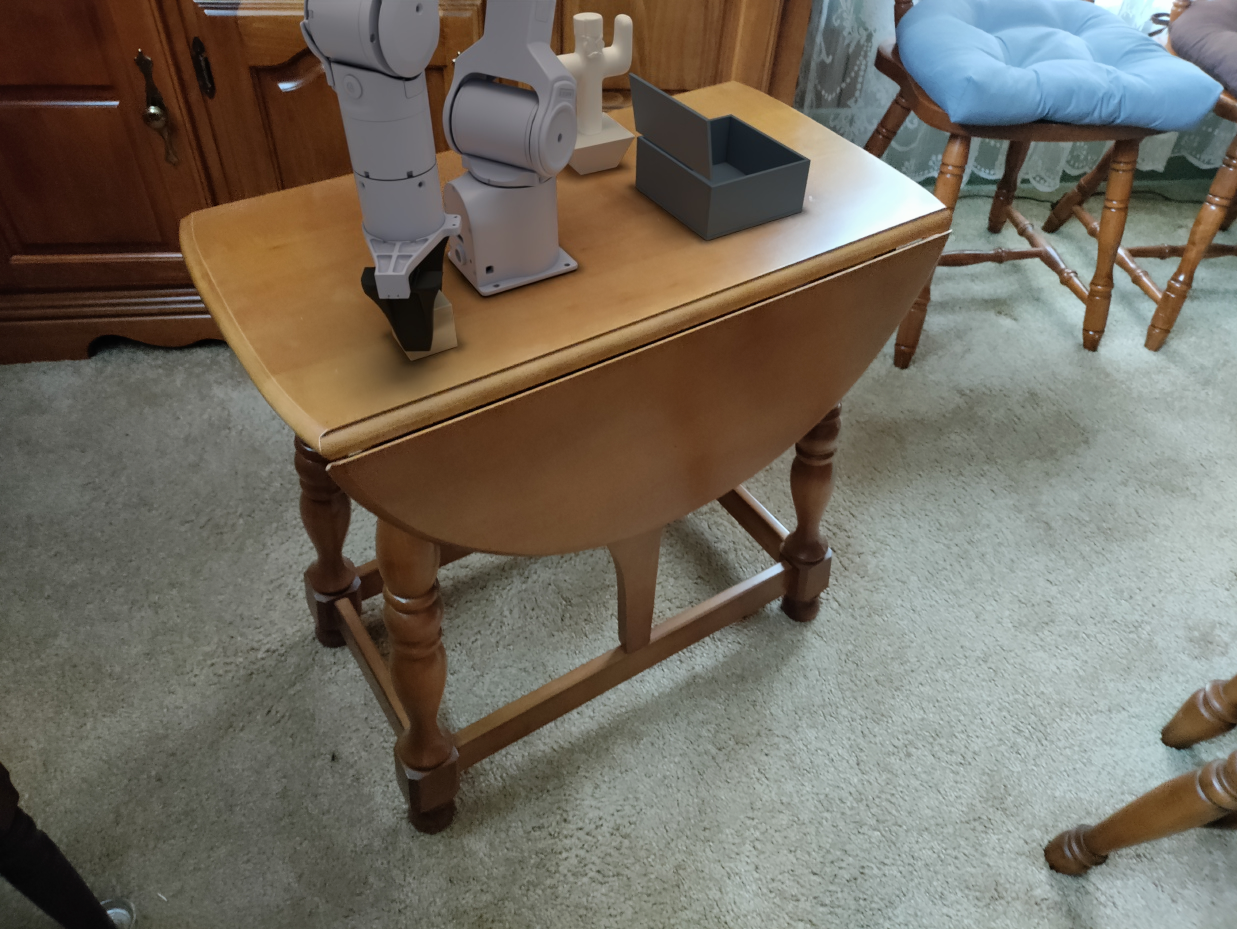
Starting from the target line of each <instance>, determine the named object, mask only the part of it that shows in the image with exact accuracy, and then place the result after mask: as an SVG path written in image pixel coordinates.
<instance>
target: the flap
mask: <svg viewBox="0 0 1237 929" xmlns="http://www.w3.org/2000/svg"><path fill="white" fill-rule="evenodd" d="M628 80H629V88H630V96H631V104H632V112H633V120H634V127H635V128H634V129H635V132H637V133H638V134H640V136H642V135H643V136H644V137H646V138H647V139H649V140H650V141H652V142H653V143H655V144H656V145H657V146H659V147H660V148H662V149H663V150H665V151H666V152H668V153H669V154H671V155H672V156H674V157H675V158H677V159H678V160H680V161H681V162H683V163H684V164H686V165H687V166H689V167H690V168H692V169H693V170H695V171H696V172H698V173H699V174H701V175H702V176H704V177H705V178H706V179H708V180H709V181H711V180H713V167H712V149H711V132H710V119H711V118H708V117H706V116H705V115H703V114H701V113H700V112H698V111H697V110H695V109H693V108H692V107H690V106H688V105H686V104H685V103H683V102H681V101H679V100H678V99H676V98H674V96H671V95H670V94H668V93H666V92H665V91H663V90H661V89H660V88H658V87H656V86H655V85H653V84H651V83H650V82H648V81H646V80H645V79H643V78H641V77H640V76H638V75H636V74H634V73H633V72H629V73H628Z"/></svg>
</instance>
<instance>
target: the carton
mask: <svg viewBox="0 0 1237 929" xmlns="http://www.w3.org/2000/svg"><path fill="white" fill-rule="evenodd" d="M709 119H710V132H711V149H712V167H713V180H711V181H709V180H708V179H706V178H705V177H704V176H702V175H701V174H699V173H698V172H696V171H695V170H693V169H692V168H690V167H689V166H687V165H686V164H684V163H683V162H681V161H680V160H678V159H677V158H675V157H674V156H672V155H671V154H669V153H668V152H666V151H665V150H663V149H662V148H660V147H659V146H657V145H656V144H655V143H653V142H652V141H650V140H649V139H647V138H646V137H644V136H643V135H638V136H636V151H635V152H636V154H635V155H636V156H635V182H634V183H635V184H634V186H635V189H636V190H638V191H639V192H640V193H642V194H643V195H644V196H646V197H647V198H649V199H650V200H652V201H653V202H654V203H656V205H658V206H659V207H661V208H662V209H663V210H664V211H666V212H667V213H668V214H670V215H671V216H673V217H674V218H675V219H676V220H678V221H679V222H680V223H681V224H684V225H685V226H686V227H688V228H689V229H690V230H691V231H692V232H694V233H695V234H697V235H698V236H699V237H701V238H702V239H703V240H705V241H706V242H707V241H710V240H711V241H712V240H713V239H717V238H720V237H721V238H722V237H724V236H726V235H727V236H728V235H731V234H734V233H736V232H741V231H743V230H747V229H750V228H753V227H756V226H760V225H763V224H766V223H770V222H773V221H777V220H779V219H783V218H786V217H790V216H792V215H796V214H799V213H802V212H803V207H804V201H805V195H806V191H807V190H806V189H807V184H808V179H809V172H810V167H811V163H812V162H811V161H812V160H811V158H808V157H806V156H805V155H803V154H802V153H799V152H798V151H796V150H794V149H793V148H791V147H789V146H787V145H785V143H783V142H781V141H779V140H777V139H776V138H774V137H772V136H771V135H769V134H767V133H765V132H763V131H761V130H760V129H758V128H756V127H755V126H753V125H751V124H749V123H748V122H746V121H744V120H742V119H741V118H740V117H738V116H735V115H734V114H733V113H731V114H730V113H729V114H726V115H722V116H717V117H714V118H709Z"/></svg>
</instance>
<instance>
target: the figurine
mask: <svg viewBox="0 0 1237 929" xmlns="http://www.w3.org/2000/svg"><path fill="white" fill-rule="evenodd" d="M572 22H573V35H574V45H575V46H574V52H573V53H572V52H570V53H565V54H564V53H563V54H559V55H556V56H557V57H558V59H559V60H560V61H561V62H562V64H563V65H564V66H565V67H566V68H567V70H568V71H569V72H570V73H571V75H572V76H573V77H574V79H575V80H576V82H577V89H576V90H577V92H576V118H577V139H576V144H575V148H574V151H573V154H572V156H571V158H570V160H569V162H568V164H567V165H568V166H570V167H571V168H572V169H573V170H574V171H575V172H577V173H578V174H579V175H580V176H583V175H587V174H592V173H598V172H601V171H606V170H610V169H614V168H617V167H618V165H619V164H620V163H621V161H622V160H623V158H624V156H625V155H626V154H627V151H628V149H629V148H630V147H631V145H632V143H633V141H634V140H635V138H637V136H636V135H635V134H634V133H632V132H631V131H630V130H628V129H627V128H625V127H624V126H623V125H621V124H620V123H619V122H618V121H617V120H615V119H614V118H612V117H611V116H610V115H608V114H607V113H606V112H605V111H603V81H604V79H606V78H610V77H611V78H612V77H617V76H622V75H625V74H626V73H628V72H629V71H630V68H631V66H632V59H633V37H634V36H633V35H634V33H633V31H634V27H633V26H634V24H633V20H632V18H631V16H629V15H627V14H624V13H621V14H618V15H616V16H615V17H614V21H613V22H614V24H613V39H612V44H611V45H610V46H606V45H605V44H606V43H605V41H604V40H603V39H604V18H603V16H602V14H600V13H598V12H580V13H577V14H574V15H573V16H572ZM605 46H606V47H605Z"/></svg>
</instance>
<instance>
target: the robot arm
mask: <svg viewBox="0 0 1237 929" xmlns="http://www.w3.org/2000/svg"><path fill="white" fill-rule="evenodd" d="M556 3H557V0H486V8H485V19H484V27H483V28H484V30H483V35H482V37H481V38H480V39H478V40H477V41H476V42H475V43H473V44H472V45H471V46H469V47H468V48H467V49H465V50H464V51H463V52H461V53H460V54H458V56H457V57H456V58H455V59H454V60H455V61H454V70H453V77H452V81H451V85H450V88H449V91H448V93H447V95H446V97H445V100H444V104H443V107H442V108H443V109H442V128H443V132H444V133H443V134H444V138H445V140H446V143H447V145H448V147H449V148H450V150H452V151H453V153H455V154H457V155H460V157H461V166H462V168H463V169H465V170H467V171H465V172H464V173H463V174H461V175H460V176H458V177H456V178H454V179H451V180H449V181H447V182H445V183H444V185H443V189H442V190H443V191H442V190H441V182H440V174H439V168H438V167H439V166H438V159H437V154H436V146H435V138H434V133H433V132H434V131H433V123H432V117H431V108H430V100H429V92H428V87H427V79H426V78H427V77H426V71H425V69H426V68H427V67H428V65H429V64H430V61H432V58H433V55H434V53H435V51H436V49H437V47H438V45H439V39H440V28H441V26H440V25H441V22H440V21H441V20H440V12H439V6H440V0H303V20H301V21H300V23H299V27H300V31H301V33H302V36H303V38H304V42H305V43H306V45H307V47H308V48H309V50H310V52H312V54H313V55H314V56H315V57H316V58H318V60H319V62H320V63H321V65H322V66H323V69H324V72H325V77H326V82H327V85H328V86H329V87H330V86H331V89H332V91H334V92H335V93H336V96H337V100H338V105H339V110H340V115H341V119H342V124H343V129H344V135H345V138H346V143H347V149H348V153H349V154H348V155H349V159H350V163H351V168H352V172H353V177H354V182H355V187H356V191H357V197H358V201H359V206H360V211H361V217H362V222H361V229H362V234H363V239H364V241H365V243H366V246H367V248H368V251H369V253H370V256H371V259H372V262H373V264H374V266H364V267H363V270H362V274H361V277H360V283H361V288H362V291H363V293H364V295H365V296H367V297H368V298H369V299H370V300H372V301H373V302H374V304H376V305H377V306H378V308H379V309H380V310H381V312H382V313H383V315H384V316H385V317H386V319H387V321H388V323H389V325H390V327H391V326H392V328H393V330H394V332H395V335H396V337H397V339H398V341H399V342H400V344H401V346H402V348H403V349H404V350H403V349H402V348H401V349H402V350H403V352H404V351H405V352H415V351H431V346H432V341H433V328H434V301H435V298H436V296H437V294H438V291H439V290H440V291H441V292H442V293H443V291H442V290H443V278H444V277H443V276H444V263H445V262H444V261H445V260H444V259H445V254H446V253H445V252H446V249H447V244H448V247H449V250H448V252H447V257H448V259H449V260H450V261H451V262H452V264H453V265H454V266H455V267H456V268H457V269H458V271H460V272H461V274H462V275H463V276H464V278H466V279H467V280H468V282H470V283H471V285H472V286H473V287H474V288H475V289H476V290H477V292H478V293H479V294H480V295H482V296H485V297H487V296H492V295H494V294H497V293H501V292H504V291H508V290H512V289H515V288H518V287H521V286H525V285H528V284H531V283H535V282H538V281H541V280H544V279H547V278H548V279H549V278H551V277H555V276H559V275H561V274H565V273H569V272H571V271H574V270H577V268H578V262H577V261H576V260H575V259H574V258H573V257H572V256H570V255H569V254H568V253H567V252H566V250H564V249H563V248H562V247H561V246H560V244H559V242H560V241H559V218H558V217H559V216H558V214H559V213H558V192H557V190H558V188H557V175H559V174H560V173H562V171H563V170H564V169H565V167H566V166H568V165H569V164H568V162H569V160H570V158H571V156H572V154H573V151H574V148H575V144H576V139H577V118H576V117H577V104H576V92H577V90H576V89H577V82H576V80H575V79H574V77H573V76H572V75H571V73H570V72H569V71H568V70H567V68H566V67H565V66H564V65H563V64H562V62H561V61H560V60H559V59H558V57H557V56H558V55H556V53H555V52H554V51H553V50H552V48H551V44H552V43H551V42H552V36H553V27H554V20H555V12H556V5H557V4H556ZM498 78H502V79H506V80H511V81H514V82H515V81H516V82H520V83H524V84H527V85H529V86H531V88H533V90H532V89H529V88H523V87H519V86H516V85H511V84H506V83H501V82H496V80H498ZM392 328H391V329H392ZM401 346H400V347H401ZM405 352H404V353H405Z"/></svg>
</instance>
